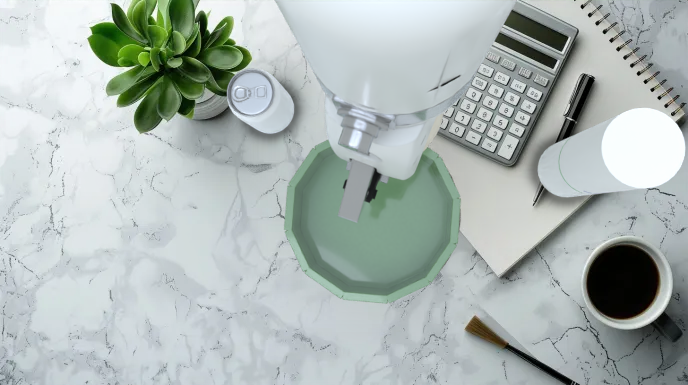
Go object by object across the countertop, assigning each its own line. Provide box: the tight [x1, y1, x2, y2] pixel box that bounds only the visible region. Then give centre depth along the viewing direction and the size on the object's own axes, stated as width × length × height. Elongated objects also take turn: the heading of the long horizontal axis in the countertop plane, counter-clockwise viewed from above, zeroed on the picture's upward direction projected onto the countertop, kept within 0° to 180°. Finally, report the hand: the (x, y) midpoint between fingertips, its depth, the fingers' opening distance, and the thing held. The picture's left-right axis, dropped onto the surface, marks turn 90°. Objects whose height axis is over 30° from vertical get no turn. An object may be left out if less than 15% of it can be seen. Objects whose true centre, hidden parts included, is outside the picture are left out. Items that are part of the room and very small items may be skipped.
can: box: [226, 67, 295, 135], centre depth 77 cm, size 6×6×12 cm
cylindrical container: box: [537, 107, 686, 198], centre depth 67 cm, size 7×7×25 cm
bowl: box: [283, 139, 462, 305], centre depth 54 cm, size 15×15×5 cm
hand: (394, 109), depth 43 cm, fingers closed on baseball, 7 cm apart
